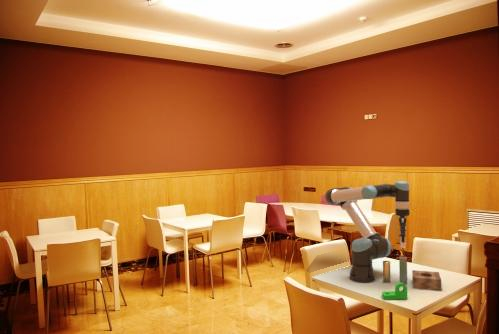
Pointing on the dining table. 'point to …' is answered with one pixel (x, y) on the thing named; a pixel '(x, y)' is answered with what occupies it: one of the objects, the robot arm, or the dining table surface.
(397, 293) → the mechanical part
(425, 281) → the bore block
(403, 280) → the square bit
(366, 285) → the dining table surface
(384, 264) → the round bit
